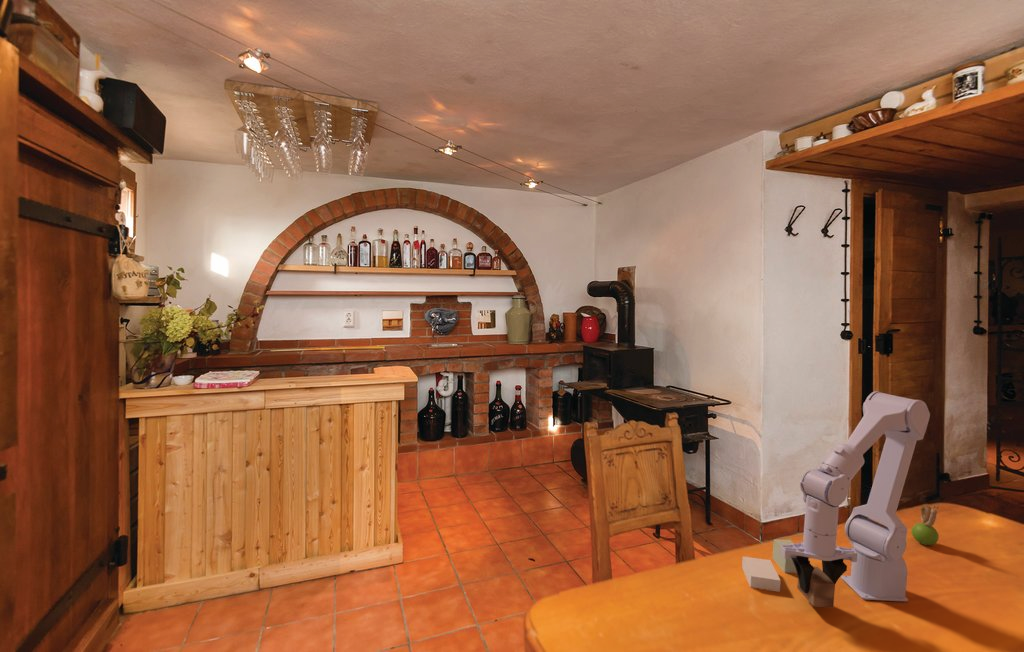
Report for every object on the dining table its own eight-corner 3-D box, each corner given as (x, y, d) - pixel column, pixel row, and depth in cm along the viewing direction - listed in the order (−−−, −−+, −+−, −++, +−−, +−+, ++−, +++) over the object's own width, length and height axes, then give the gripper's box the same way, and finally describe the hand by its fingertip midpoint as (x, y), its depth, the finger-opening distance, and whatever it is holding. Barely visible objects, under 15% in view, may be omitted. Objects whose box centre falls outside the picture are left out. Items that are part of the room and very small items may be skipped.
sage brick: (788, 559, 119) (790, 540, 119) (802, 573, 113) (803, 553, 113) (772, 558, 120) (773, 539, 119) (784, 573, 114) (786, 552, 113)
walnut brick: (816, 588, 104) (818, 566, 104) (833, 607, 98) (835, 584, 98) (797, 587, 105) (799, 565, 104) (813, 606, 99) (814, 583, 98)
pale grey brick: (769, 572, 114) (770, 560, 114) (779, 593, 106) (780, 580, 106) (742, 568, 116) (742, 556, 115) (750, 588, 108) (751, 576, 107)
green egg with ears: (918, 549, 125) (923, 504, 124) (906, 536, 131) (911, 494, 130) (944, 553, 123) (949, 507, 122) (930, 540, 129) (935, 497, 128)
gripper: (844, 520, 104) (839, 580, 105) (774, 518, 104) (770, 577, 106) (866, 538, 97) (860, 602, 98) (792, 535, 97) (787, 598, 99)
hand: (815, 590), depth 101 cm, fingers closed on walnut brick, 4 cm apart
